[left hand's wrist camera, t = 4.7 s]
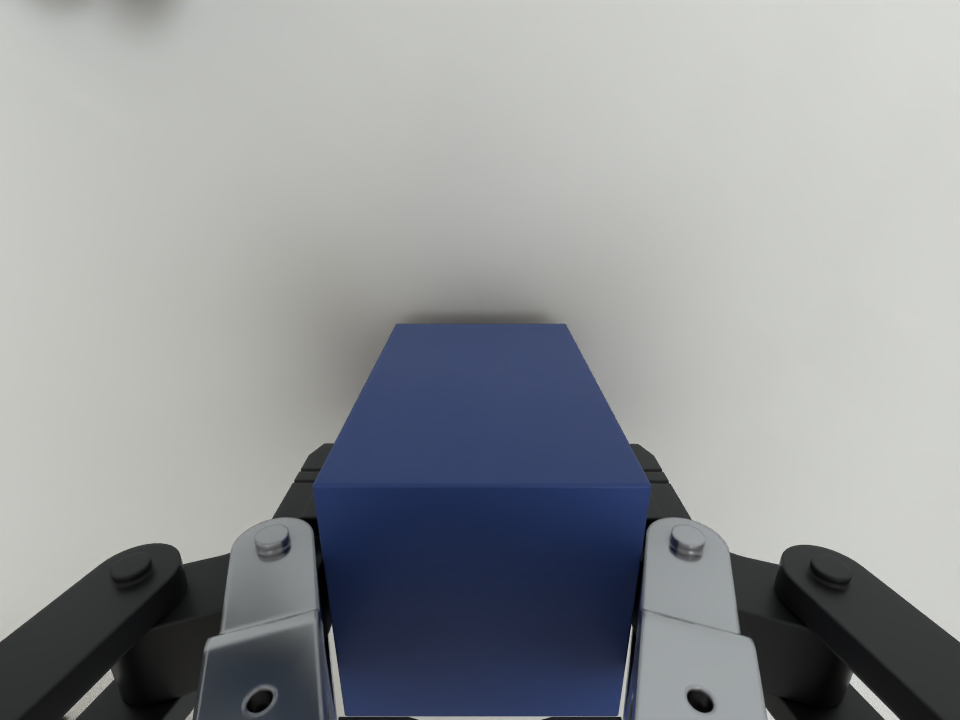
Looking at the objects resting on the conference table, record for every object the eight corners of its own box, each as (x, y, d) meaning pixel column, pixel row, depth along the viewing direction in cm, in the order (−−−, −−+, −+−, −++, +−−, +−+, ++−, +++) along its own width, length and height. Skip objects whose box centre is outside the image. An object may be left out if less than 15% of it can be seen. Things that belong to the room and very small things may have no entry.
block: (566, 323, 14) (653, 485, 7) (556, 469, 16) (619, 718, 9) (395, 323, 14) (311, 485, 7) (405, 469, 16) (343, 717, 9)
